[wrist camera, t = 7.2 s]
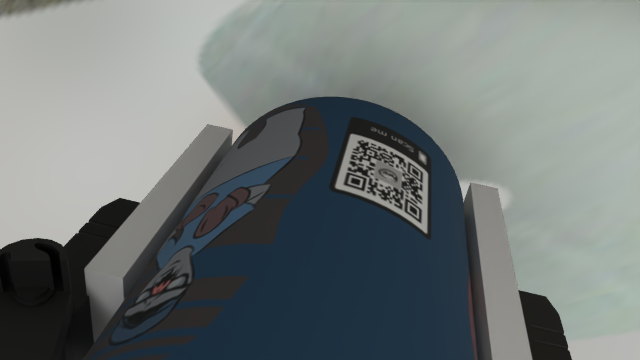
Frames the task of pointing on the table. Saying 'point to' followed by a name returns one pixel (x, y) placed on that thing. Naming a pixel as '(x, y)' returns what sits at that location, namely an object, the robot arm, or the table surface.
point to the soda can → (311, 249)
